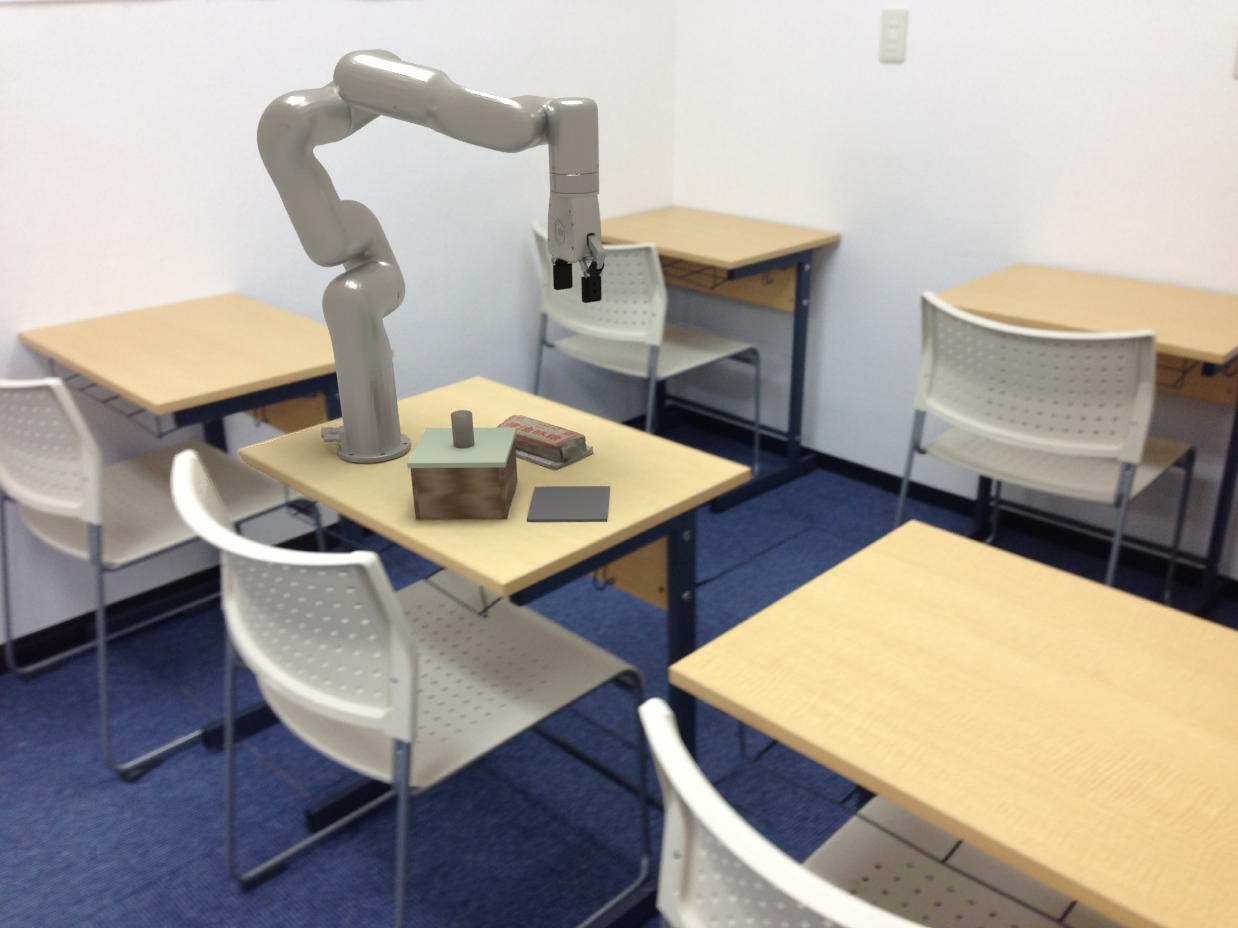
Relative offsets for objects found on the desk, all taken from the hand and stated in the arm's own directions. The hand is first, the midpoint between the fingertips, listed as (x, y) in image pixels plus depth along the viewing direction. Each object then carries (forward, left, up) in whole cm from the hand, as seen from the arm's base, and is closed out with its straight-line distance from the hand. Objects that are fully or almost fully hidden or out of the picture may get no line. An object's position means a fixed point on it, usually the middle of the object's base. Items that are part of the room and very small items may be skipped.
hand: (577, 295), depth 164 cm
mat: (-1, -16, -29) cm, 33 cm away
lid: (-17, -14, -21) cm, 31 cm away
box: (-17, -14, -29) cm, 36 cm away
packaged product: (-8, +6, -30) cm, 31 cm away
